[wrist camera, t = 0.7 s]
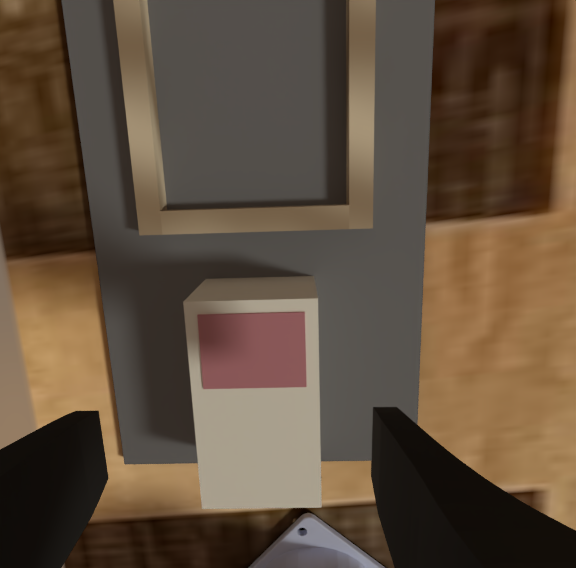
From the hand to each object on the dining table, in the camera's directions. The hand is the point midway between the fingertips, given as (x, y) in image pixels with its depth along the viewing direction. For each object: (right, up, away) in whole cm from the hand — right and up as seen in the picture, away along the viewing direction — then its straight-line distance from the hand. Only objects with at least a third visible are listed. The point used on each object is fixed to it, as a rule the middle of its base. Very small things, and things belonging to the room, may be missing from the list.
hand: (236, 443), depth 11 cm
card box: (0, 0, +10) cm, 9 cm away
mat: (0, +8, +8) cm, 11 cm away
